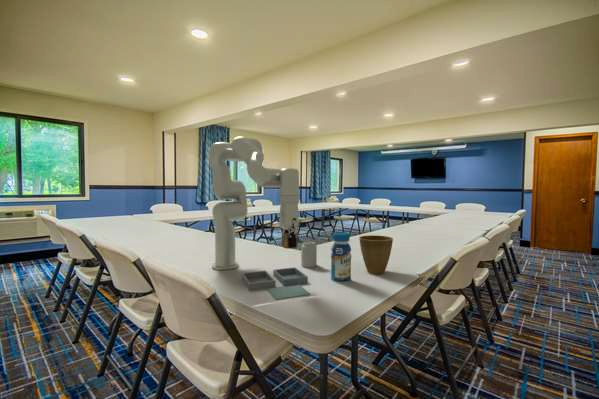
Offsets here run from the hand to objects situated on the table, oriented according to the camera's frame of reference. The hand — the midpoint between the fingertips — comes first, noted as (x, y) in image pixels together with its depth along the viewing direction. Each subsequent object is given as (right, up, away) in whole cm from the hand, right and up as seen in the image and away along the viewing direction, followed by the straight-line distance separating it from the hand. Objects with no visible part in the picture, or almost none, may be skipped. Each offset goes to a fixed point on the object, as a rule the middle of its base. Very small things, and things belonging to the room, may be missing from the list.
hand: (289, 245), depth 111 cm
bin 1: (-13, -16, +2) cm, 20 cm away
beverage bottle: (+21, -16, +6) cm, 27 cm away
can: (+8, -15, +27) cm, 32 cm away
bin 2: (0, -16, +7) cm, 17 cm away
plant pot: (+39, -15, +19) cm, 46 cm away
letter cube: (0, 0, 0) cm, 0 cm away
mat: (0, -16, -8) cm, 18 cm away
